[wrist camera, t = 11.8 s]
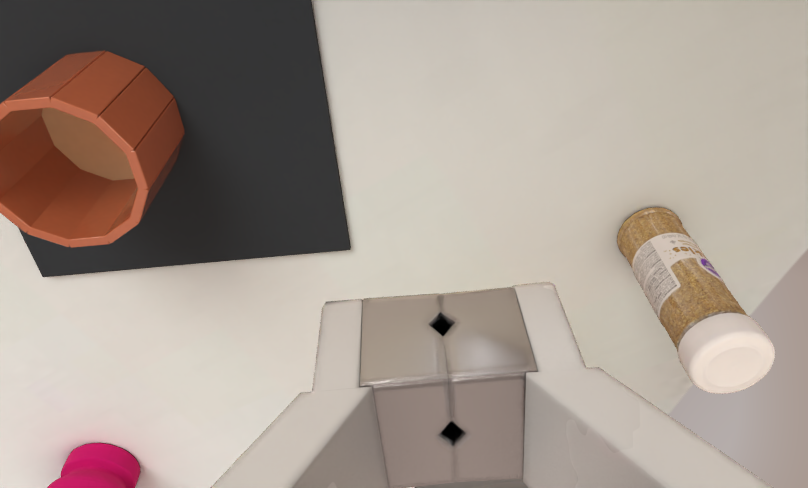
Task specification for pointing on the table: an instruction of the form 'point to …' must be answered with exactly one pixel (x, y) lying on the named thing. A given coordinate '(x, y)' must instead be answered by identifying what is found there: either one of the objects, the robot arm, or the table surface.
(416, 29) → the table surface
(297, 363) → the table surface
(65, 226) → the cup
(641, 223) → the spice jar
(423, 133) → the table surface
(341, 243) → the mat
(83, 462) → the pepper mill
